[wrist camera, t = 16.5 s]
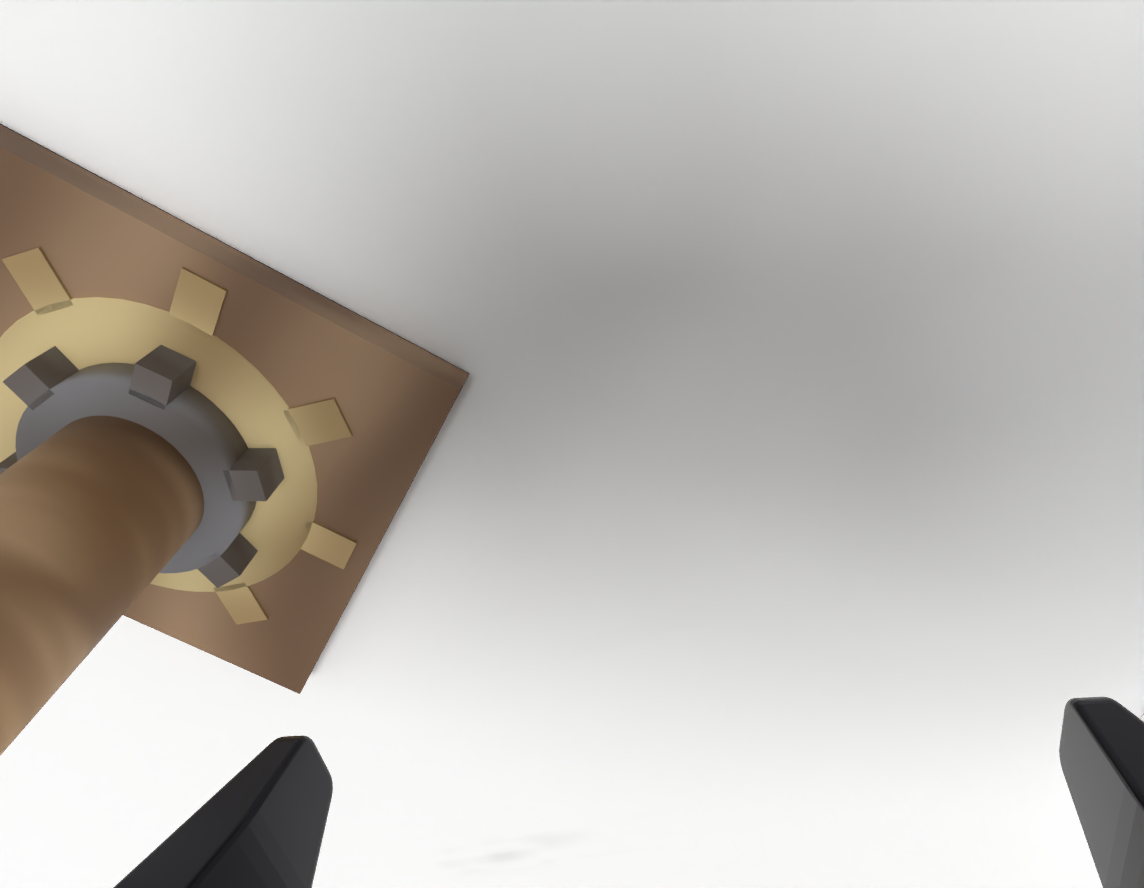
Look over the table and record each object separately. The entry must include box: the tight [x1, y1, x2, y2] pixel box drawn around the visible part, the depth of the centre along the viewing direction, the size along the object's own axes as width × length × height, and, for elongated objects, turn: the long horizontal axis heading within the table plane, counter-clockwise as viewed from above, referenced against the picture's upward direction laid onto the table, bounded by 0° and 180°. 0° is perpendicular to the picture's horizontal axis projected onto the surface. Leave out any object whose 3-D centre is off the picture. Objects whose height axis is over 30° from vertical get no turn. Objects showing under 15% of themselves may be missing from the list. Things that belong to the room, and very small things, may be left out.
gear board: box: [0, 124, 469, 694], centre depth 24 cm, size 14×14×1 cm
